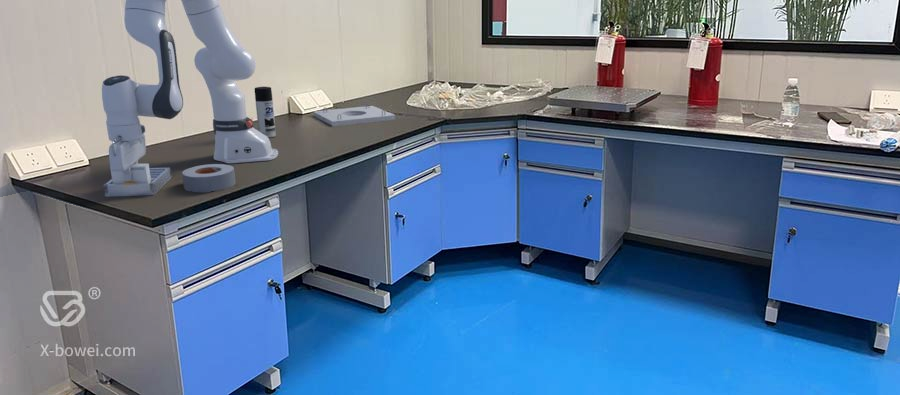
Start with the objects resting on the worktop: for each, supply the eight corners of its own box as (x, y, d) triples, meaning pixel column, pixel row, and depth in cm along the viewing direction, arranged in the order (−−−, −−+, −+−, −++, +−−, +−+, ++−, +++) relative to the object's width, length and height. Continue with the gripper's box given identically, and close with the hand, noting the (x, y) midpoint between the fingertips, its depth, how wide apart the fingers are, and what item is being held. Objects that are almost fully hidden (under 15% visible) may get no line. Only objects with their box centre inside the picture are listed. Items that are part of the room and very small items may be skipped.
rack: (171, 177, 215) (170, 165, 214) (154, 195, 198) (152, 181, 197) (126, 179, 213) (124, 167, 212) (105, 196, 196) (103, 183, 195)
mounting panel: (312, 106, 311) (372, 100, 324) (313, 117, 312) (372, 111, 326) (332, 116, 288) (395, 109, 302) (332, 127, 290) (395, 120, 304)
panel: (151, 182, 202) (148, 163, 200) (148, 185, 199) (145, 166, 197) (117, 183, 201) (113, 164, 199) (113, 186, 198) (110, 167, 196)
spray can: (266, 139, 267) (262, 89, 260) (255, 137, 270) (250, 88, 264) (279, 136, 272) (275, 87, 266) (267, 134, 275) (263, 85, 269)
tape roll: (175, 185, 208) (173, 169, 206) (221, 175, 218) (219, 160, 216) (197, 196, 198) (195, 180, 196) (244, 185, 208) (242, 170, 206)
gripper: (123, 140, 185) (131, 187, 190) (146, 125, 204) (153, 168, 209) (99, 141, 185) (107, 188, 189) (125, 125, 204) (132, 168, 208)
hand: (131, 177), depth 199 cm, fingers closed on panel, 3 cm apart
